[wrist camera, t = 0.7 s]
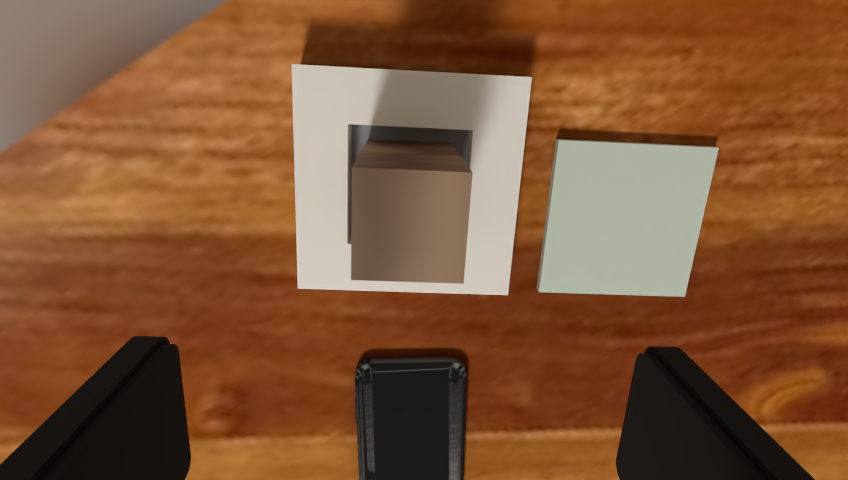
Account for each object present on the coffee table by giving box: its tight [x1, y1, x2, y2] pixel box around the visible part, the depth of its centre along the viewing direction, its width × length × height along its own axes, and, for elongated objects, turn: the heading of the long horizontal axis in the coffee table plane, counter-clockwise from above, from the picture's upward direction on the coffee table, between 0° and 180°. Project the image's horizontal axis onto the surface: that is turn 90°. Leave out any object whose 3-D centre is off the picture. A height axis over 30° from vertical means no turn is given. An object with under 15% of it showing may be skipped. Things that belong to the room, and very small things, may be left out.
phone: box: [355, 356, 467, 480], centre depth 38 cm, size 8×1×15 cm
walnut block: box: [351, 139, 472, 284], centre depth 26 cm, size 5×5×10 cm
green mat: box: [537, 139, 719, 297], centre depth 33 cm, size 10×10×1 cm
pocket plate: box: [292, 64, 532, 295], centre depth 30 cm, size 13×13×2 cm
